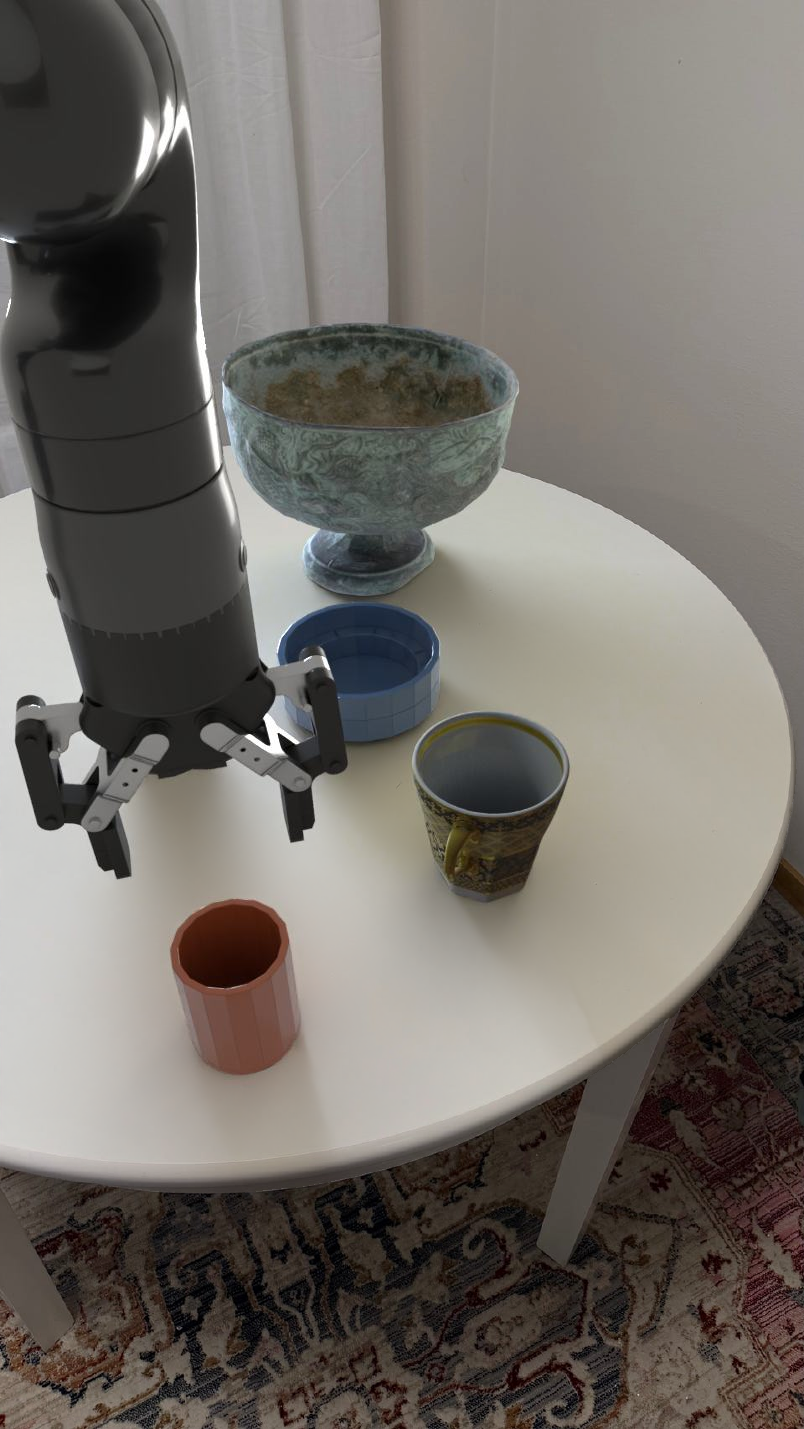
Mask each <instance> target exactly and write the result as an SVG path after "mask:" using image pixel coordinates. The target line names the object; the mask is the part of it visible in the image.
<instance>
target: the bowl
mask: <svg viewBox="0 0 804 1429" xmlns="http://www.w3.org/2000/svg"><path fill="white" fill-rule="evenodd" d="M437 634H438V633H436V630H435V629H434V626H432V625H431V624H430V623H429V622H428V621H426V620H425V619H424V617H422V616H420V615H419V614H417V613H415V612H413V611H410V610H408V609H406V608H404V607H401V606H399V605H393V604H389V603H384V602H378V601H350V602H344V603H337V604H330V605H327V606H325V607H322V608H319V609H316V610H313V611H311V612H308V613H307V614H305V615H304V616H302V617H300V618H299V619H298V620H296V621H295V622H293V623H291V624H290V626H288V628H287V629H286V631H285V632H284V633H283V634H282V635H281V637H280V639H279V642H278V646H277V650H276V661H277V666H281V665H286V664H290V663H295V662H299V655H300V653H301V651H302V650H303V649H305V648H306V647H309V646H318V647H321V648H322V649H323V650H324V652H325V655H326V658H327V661H328V664H329V667H330V670H331V673H332V676H333V678H334V681H335V684H336V690H337V697H338V703H339V709H340V715H341V722H342V728H343V734H344V740H345V742H372V741H377V740H382V739H388V738H393V737H395V736H397V735H400V734H402V733H404V732H406V731H409V730H411V729H413V728H415V727H416V726H418V725H419V724H421V722H423V721H424V720H425V719H426V718H427V717H428V716H430V715H431V714H432V712H433V710H434V708H435V707H436V705H437V703H438V702H439V700H440V688H441V687H440V686H441V685H440V684H441V640H440V638H439V636H438V635H437ZM281 698H282V699H281V700H282V702H283V706H284V709H285V712H286V713H287V714H288V715H289V716H290V717H291V718H292V719H293V720H294V722H295V723H296V724H297V725H299V726H300V727H302V728H304V729H305V730H307V731H309V732H311V733H313V730H312V725H311V720H310V714H309V713H305V712H303V711H302V709H298V708H296V707H295V706H293V704H292V702H291V700H290V699H289V698H288V697H286V696H282V695H281Z"/></svg>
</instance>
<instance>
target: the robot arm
mask: <svg viewBox="0 0 804 1429" xmlns="http://www.w3.org/2000/svg"><path fill="white" fill-rule="evenodd" d="M181 57H182V56H181V54H180V51H179V48H178V44H177V41H176V39H175V35H174V34H173V30H172V28H171V26H170V24H169V21H168V19H167V17H166V15H165V13H164V11H163V10H162V8H161V6H160V4H159V3H158V1H157V0H0V240H2V241H4V243H5V249H6V255H7V260H8V265H9V274H10V297H9V303H8V308H7V312H6V313H5V314H6V315H5V318H4V321H3V325H2V328H1V331H0V378H1V384H2V389H3V393H4V397H5V400H6V405H7V408H8V410H9V411H8V412H9V415H10V417H11V418H10V419H11V423H12V426H13V428H14V432H15V433H14V434H15V436H16V439H17V443H18V446H19V450H20V453H21V457H22V461H23V464H24V467H25V471H26V474H27V478H28V481H29V482H28V483H29V485H30V487H31V493H32V497H33V502H34V503H33V504H34V510H35V520H36V526H37V533H38V540H39V545H40V548H41V552H42V556H43V559H44V563H45V567H46V568H45V569H46V572H45V577H46V580H47V585H48V587H49V589H50V592H51V595H52V596H53V598H54V599H55V600H56V604H57V608H58V611H59V613H60V617H61V618H60V619H61V621H62V624H63V628H64V632H65V635H66V639H67V642H68V645H69V648H70V652H71V656H72V659H73V662H74V666H75V669H76V674H77V675H78V676H77V677H78V679H79V683H80V687H81V689H82V693H81V695H80V697H79V700H78V701H72V702H64V703H57V704H49V705H47V704H46V701H45V700H44V699H43V698H42V697H40V696H39V695H36V694H26V695H24V696H21V697H19V699H18V700H17V702H16V705H15V706H16V708H15V723H14V724H15V725H14V744H15V748H16V752H17V755H18V759H19V763H20V766H21V770H22V774H23V777H24V781H25V784H26V788H27V792H28V795H29V799H30V802H31V807H32V810H33V813H34V814H33V815H34V817H35V822H36V824H37V826H38V827H39V828H40V829H41V830H43V831H47V832H48V831H49V832H52V831H58V830H59V829H61V828H62V827H64V825H65V824H69V825H73V824H74V825H77V826H80V827H81V828H82V829H83V830H85V831H86V833H87V837H88V840H89V842H90V845H91V846H90V847H91V848H92V851H93V854H94V857H95V860H96V864H97V866H98V867H99V868H100V869H101V870H102V871H103V872H105V873H106V872H110V871H113V872H114V875H115V879H116V880H122V879H126V878H132V877H133V873H132V872H133V871H132V859H131V851H130V845H129V842H128V837H127V834H126V831H125V828H124V827H125V826H124V824H123V821H122V816H121V813H120V810H119V809H120V808H121V807H122V805H123V804H129V803H130V802H131V800H132V799H133V797H134V796H135V794H136V793H137V791H138V790H139V788H140V787H141V785H142V784H143V782H144V780H146V778H147V777H148V775H154V776H155V775H156V776H157V779H158V780H163V779H169V778H174V777H178V776H180V775H182V774H185V773H187V772H190V771H193V770H199V771H203V770H205V771H206V770H207V771H208V770H209V771H211V770H216V769H221V768H226V767H228V765H227V762H228V761H230V760H232V759H234V760H236V761H237V762H238V763H240V764H241V765H243V766H244V767H246V768H247V769H249V770H251V772H254V773H255V774H256V775H258V776H259V777H262V778H263V777H266V776H269V777H270V778H272V779H273V780H274V781H276V782H278V783H279V790H280V791H279V792H280V798H281V806H282V812H283V818H284V823H285V827H286V831H287V836H288V840H289V844H293V843H298V842H303V841H305V836H304V831H307V830H312V829H313V827H314V825H315V823H316V816H315V815H316V814H315V807H314V805H315V804H314V798H313V797H314V796H313V787H312V786H313V782H314V781H315V780H316V778H318V777H319V776H321V775H323V774H325V773H326V774H328V775H331V776H332V775H333V776H336V775H339V774H342V773H343V772H345V771H346V770H347V768H348V766H349V760H348V754H347V746H346V741H345V740H344V734H343V728H342V722H341V715H340V709H339V703H338V697H337V690H336V684H335V681H334V678H333V676H332V673H331V670H330V667H329V664H328V661H327V658H326V655H325V652H324V650H323V649H322V648H321V647H318V646H309V647H306V648H305V649H303V650H302V651H301V653H300V655H299V662H295V663H290V664H286V665H281V666H278V665H277V666H273V667H268V665H266V663H265V662H264V661H263V660H262V658H261V657H260V654H259V646H258V639H257V632H256V626H255V618H254V612H253V605H252V598H251V591H250V583H249V576H248V575H249V574H248V569H247V565H248V550H247V545H246V543H245V541H244V538H243V534H242V526H241V519H240V515H239V509H238V508H239V507H238V504H237V501H236V496H235V493H234V490H233V487H232V484H231V481H230V478H229V474H228V470H227V466H226V461H225V455H224V448H223V441H222V440H223V439H222V435H221V427H220V420H219V414H218V407H217V400H216V394H215V387H214V380H213V376H212V375H213V374H212V369H211V365H210V361H209V356H208V352H207V348H206V344H205V337H204V330H203V324H202V314H201V303H200V301H201V300H200V244H199V243H200V241H199V219H198V216H199V215H198V194H197V193H198V189H197V171H196V170H197V169H196V157H195V156H196V155H195V144H194V143H195V142H194V131H193V121H192V112H191V104H190V97H189V92H188V87H187V81H186V76H185V70H184V66H183V61H182V58H181ZM277 696H281V697H282V696H286V697H288V698H289V699H290V700H291V702H292V704H293V706H295V707H296V708H298V709H302V711H303V712H305V713H309V714H310V720H311V725H312V730H313V732H312V736H310V737H307V738H306V739H304V740H302V741H298V739H296V738H294V737H293V736H292V735H290V734H288V733H287V732H286V731H285V730H283V729H282V728H280V727H279V726H278V725H277V724H276V722H275V720H274V719H273V718H272V716H270V714H268V713H269V711H271V708H272V707H273V705H274V704H275V701H276V698H277ZM78 732H82V733H83V735H84V736H85V737H86V738H88V739H89V740H90V741H91V742H93V743H94V744H96V745H98V746H99V749H98V752H97V757H96V760H95V761H94V763H93V764H92V766H91V768H90V769H89V771H88V772H87V774H86V776H85V777H84V778H83V780H82V782H81V783H69V782H65V779H64V776H63V774H64V773H63V771H62V767H61V762H60V757H61V754H63V753H65V752H66V751H67V750H68V748H69V746H70V739H71V737H72V736H73V735H74V734H76V733H78Z"/></svg>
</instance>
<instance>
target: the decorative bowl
mask: <svg viewBox="0 0 804 1429" xmlns="http://www.w3.org/2000/svg"><path fill="white" fill-rule="evenodd" d="M221 380H222V382H221V383H222V391H223V392H222V402H221V403H222V410H223V413H224V416H225V420H226V425H227V431H228V436H229V441H230V445H231V449H232V452H233V454H234V457H235V458H234V459H235V461H236V465H237V466H238V468H239V470H240V472H241V473H242V477H243V478H244V479H245V480H246V482H247V483H248V484H249V486H250V488H251V489H252V491H254V493H255V494H256V495H258V496H259V497H260V499H262V500H263V501H264V502H265V503H266V504H267V505H269V507H271V508H272V509H274V510H275V511H277V513H280V514H282V516H284V517H287V518H290V519H294V520H296V521H297V522H301V523H303V524H305V525H308V526H311V527H314V528H317V529H318V530H317V531H316V532H315V533H314V534H313V535H311V536H310V537H308V539H307V541H306V542H305V545H304V546H303V548H302V558H301V560H302V565H303V566H302V567H303V570H304V573H305V574H306V575H307V577H308V578H309V579H310V580H311V581H313V582H314V583H316V584H317V585H319V586H320V587H323V588H324V589H326V590H329V591H330V592H334V593H336V594H343V595H350V596H361V597H370V596H379V595H386V594H389V593H393V592H396V591H398V590H400V589H401V588H402V587H404V586H405V585H406V584H408V583H410V581H412V580H413V579H415V577H416V576H418V575H419V574H420V573H422V572H423V571H424V570H425V569H427V568H428V567H429V566H430V565H431V564H432V563H434V559H435V545H434V542H433V540H432V537H431V535H430V534H429V533H428V532H427V530H426V529H425V528H427V527H429V526H432V525H434V524H437V523H440V522H442V521H444V520H446V519H448V518H451V517H453V516H456V515H457V514H459V513H461V512H462V511H463V510H464V509H466V508H467V507H468V506H470V505H471V504H472V503H473V502H475V501H476V500H477V499H478V498H479V497H481V496H482V495H483V494H484V493H485V492H486V491H487V490H488V489H489V487H490V486H491V484H492V483H493V481H494V479H495V478H496V477H497V475H498V474H499V472H500V470H501V468H502V466H503V465H504V462H505V457H506V451H507V448H506V442H507V439H508V435H509V431H510V428H511V425H512V418H513V413H514V408H515V404H516V399H517V397H518V395H519V394H520V384H519V379H518V376H517V374H516V373H515V371H514V370H513V369H512V367H511V366H510V365H508V363H507V362H506V361H504V360H503V359H502V358H500V357H499V355H497V354H496V353H494V352H492V351H491V350H489V349H487V348H485V347H484V346H481V345H479V344H476V343H474V342H471V341H470V340H465V339H463V338H461V337H458V336H454V335H453V334H448V333H444V332H440V331H436V330H432V329H429V328H426V327H418V326H409V325H403V324H399V323H373V322H347V323H346V322H345V323H344V322H343V323H330V324H319V325H317V326H305V327H301V328H296V329H291V330H286V331H280V332H278V333H274V334H271V335H268V336H264V337H261V338H258V339H255V340H252V341H249V342H248V343H245V344H244V345H242V346H239V347H238V348H237V349H236V350H235V351H233V352H231V353H230V354H229V355H228V356H227V357H226V358H224V362H223V363H222V366H221Z"/></svg>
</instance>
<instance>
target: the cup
mask: <svg viewBox="0 0 804 1429" xmlns="http://www.w3.org/2000/svg"><path fill="white" fill-rule="evenodd" d="M290 940H291V939H290V937H289V931H288V927H287V924H286V921H285V920H284V919H283V918H282V917H281V916H280V915H279V914H278V913H277V910H275V909H274V908H273V907H270V906H268V905H266V904H264V903H262V902H260V901H258V900H255V899H246V898H237V897H236V898H235V897H234V898H233V897H232V898H227V899H223V900H219V901H218V900H217V901H214V902H210V903H208V904H207V905H205V906H203V907H201V908H199V909H198V910H196V911H194V912H192V913H191V914H190V915H188V917H187V918H186V919H185V920H184V922H183V923H182V924H181V925H180V926H179V927H178V928H177V929H176V931H175V933H174V936H173V939H172V942H171V944H170V948H169V955H170V964H171V969H172V973H173V977H174V981H175V984H176V987H177V992H178V996H179V998H180V1002H181V1006H182V1010H183V1013H184V1018H185V1021H186V1024H187V1028H188V1032H189V1035H190V1036H189V1037H190V1039H191V1042H192V1045H193V1047H194V1049H195V1051H196V1054H198V1056H199V1058H200V1059H201V1060H202V1061H203V1062H204V1063H205V1064H207V1065H208V1066H210V1067H211V1068H212V1069H214V1070H216V1071H219V1072H221V1073H225V1074H227V1075H249V1074H255V1073H258V1072H261V1071H264V1070H266V1069H268V1068H270V1067H272V1066H274V1065H276V1063H278V1062H279V1061H281V1060H282V1059H283V1058H284V1057H285V1056H286V1055H287V1054H288V1052H290V1050H291V1049H292V1047H293V1045H294V1044H295V1043H296V1040H297V1038H298V1035H299V1031H300V1026H301V1012H300V1005H299V998H298V991H297V982H296V976H295V969H294V962H293V954H292V946H291V941H290Z"/></svg>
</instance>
